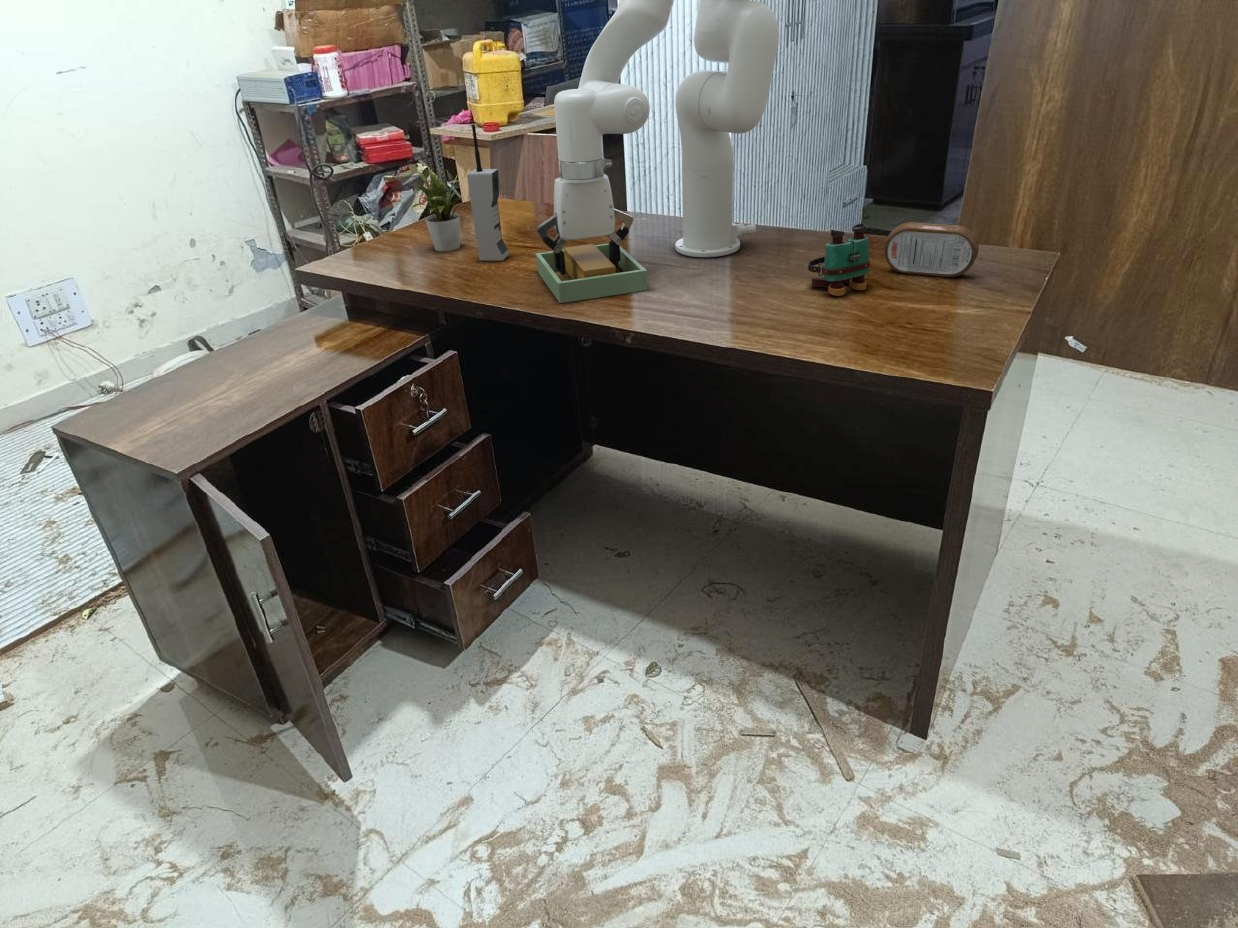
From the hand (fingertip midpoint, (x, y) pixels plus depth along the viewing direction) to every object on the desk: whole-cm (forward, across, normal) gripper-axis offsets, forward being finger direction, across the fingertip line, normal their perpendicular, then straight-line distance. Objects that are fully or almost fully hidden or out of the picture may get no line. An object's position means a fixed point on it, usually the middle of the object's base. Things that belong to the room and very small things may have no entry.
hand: (588, 269), depth 149 cm
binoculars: (+2, -37, +21) cm, 43 cm away
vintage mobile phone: (+2, +14, -22) cm, 26 cm away
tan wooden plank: (+2, 0, 0) cm, 2 cm away
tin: (+2, -54, +22) cm, 59 cm away
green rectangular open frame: (+2, 0, 0) cm, 2 cm away
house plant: (+2, +23, -35) cm, 41 cm away
